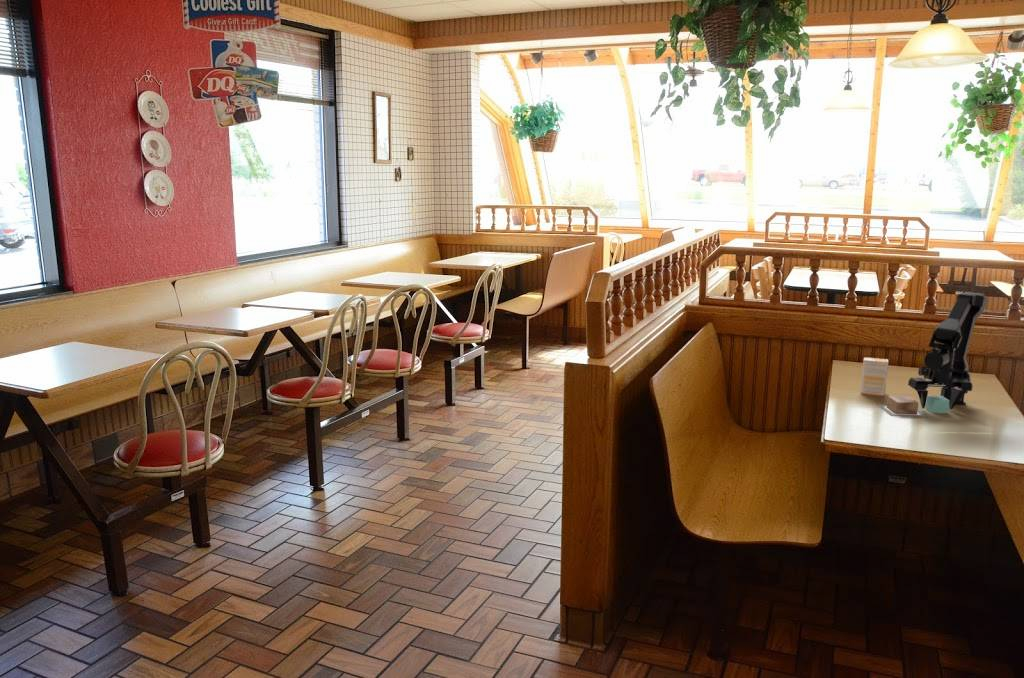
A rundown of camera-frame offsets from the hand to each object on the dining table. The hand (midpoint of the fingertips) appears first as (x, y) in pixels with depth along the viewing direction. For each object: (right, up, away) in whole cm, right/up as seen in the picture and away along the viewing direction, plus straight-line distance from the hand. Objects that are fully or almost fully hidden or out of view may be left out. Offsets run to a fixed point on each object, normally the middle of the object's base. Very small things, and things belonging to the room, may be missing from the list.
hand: (936, 408), depth 269 cm
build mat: (-12, -1, 0) cm, 12 cm away
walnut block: (-12, -1, 0) cm, 12 cm away
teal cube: (0, -1, 0) cm, 1 cm away
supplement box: (-13, +3, +19) cm, 24 cm away
